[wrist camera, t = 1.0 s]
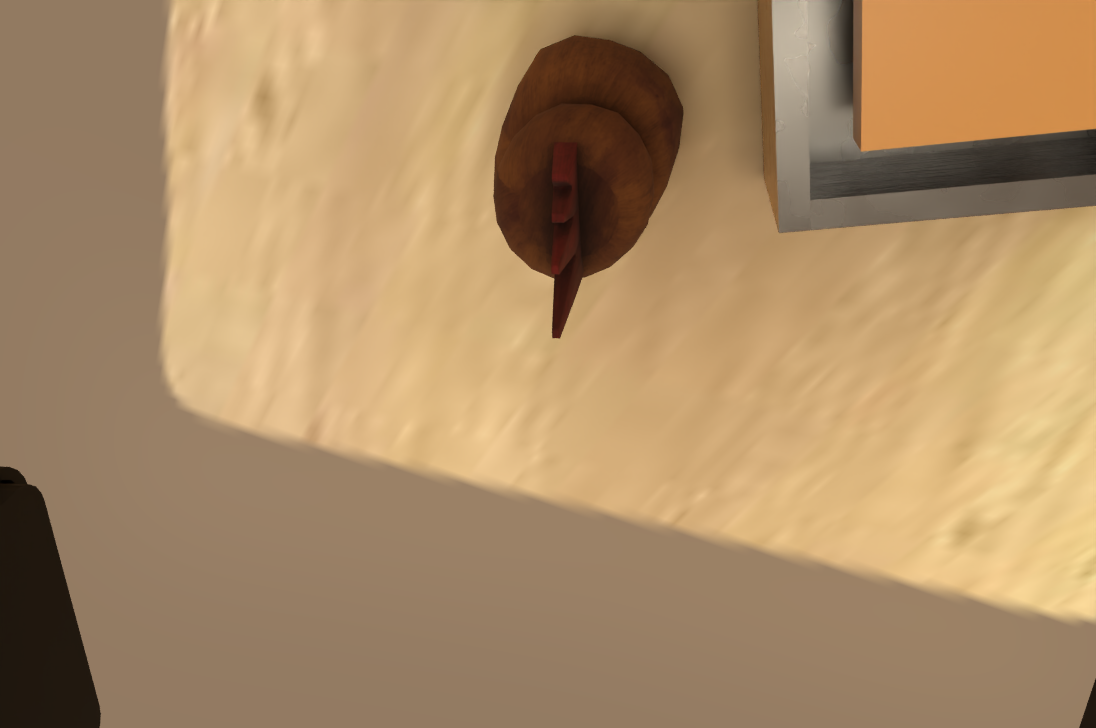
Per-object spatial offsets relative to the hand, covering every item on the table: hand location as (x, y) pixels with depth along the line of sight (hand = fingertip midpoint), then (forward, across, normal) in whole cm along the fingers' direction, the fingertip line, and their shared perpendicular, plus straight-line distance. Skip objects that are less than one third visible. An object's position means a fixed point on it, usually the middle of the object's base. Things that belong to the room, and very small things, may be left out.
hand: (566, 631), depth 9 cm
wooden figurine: (+31, +1, +2) cm, 31 cm away
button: (+25, -10, -2) cm, 28 cm away
